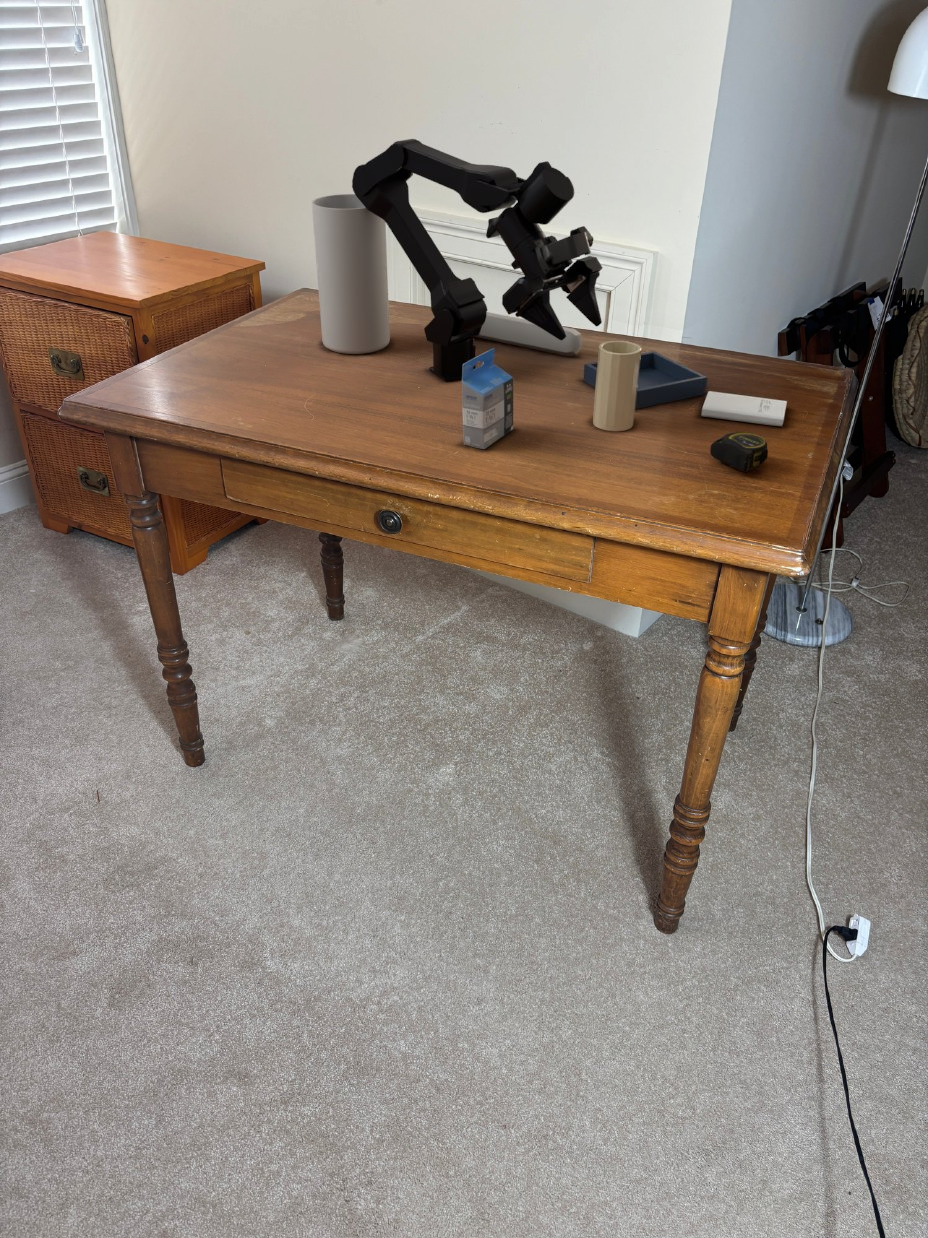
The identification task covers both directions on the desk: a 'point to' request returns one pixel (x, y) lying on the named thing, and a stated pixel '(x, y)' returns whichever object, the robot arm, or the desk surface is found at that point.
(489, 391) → the label tape box
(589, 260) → the robot arm
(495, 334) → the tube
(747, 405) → the hard drive
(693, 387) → the tray
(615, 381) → the pencil cup
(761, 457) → the tape measure
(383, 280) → the cylinder vase
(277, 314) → the desk surface
